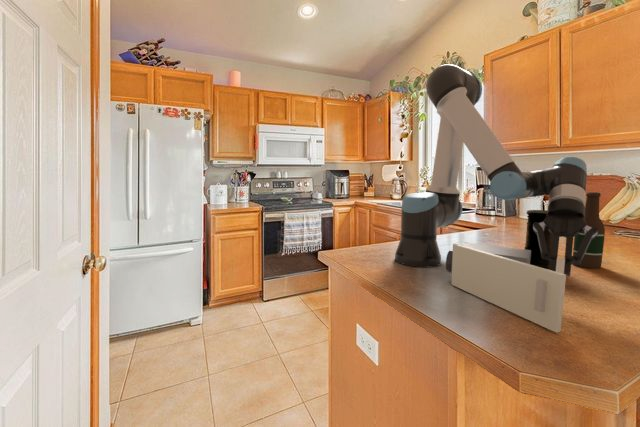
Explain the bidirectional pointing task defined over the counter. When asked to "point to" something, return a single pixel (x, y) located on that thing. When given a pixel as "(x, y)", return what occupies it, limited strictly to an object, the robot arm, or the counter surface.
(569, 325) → the counter surface
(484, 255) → the side door
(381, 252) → the counter surface
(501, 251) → the camera case
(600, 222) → the beer bottle
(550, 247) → the container
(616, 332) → the counter surface
